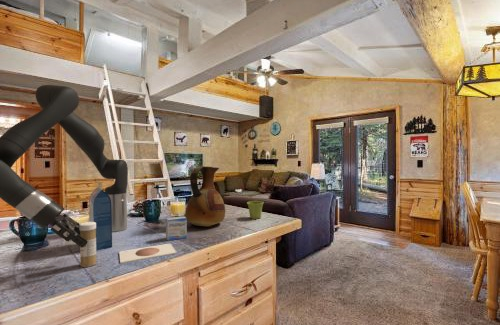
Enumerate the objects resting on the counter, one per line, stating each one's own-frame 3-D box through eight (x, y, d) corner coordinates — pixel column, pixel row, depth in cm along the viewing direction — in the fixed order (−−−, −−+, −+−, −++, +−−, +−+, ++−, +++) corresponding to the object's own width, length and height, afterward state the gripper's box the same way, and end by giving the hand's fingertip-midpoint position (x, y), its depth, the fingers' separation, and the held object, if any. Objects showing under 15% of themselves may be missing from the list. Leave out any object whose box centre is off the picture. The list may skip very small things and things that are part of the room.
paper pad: (119, 252, 95) (119, 251, 95) (170, 244, 103) (170, 243, 103) (120, 263, 85) (120, 261, 85) (176, 253, 93) (176, 251, 93)
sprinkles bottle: (78, 265, 84) (77, 223, 84) (93, 260, 87) (92, 220, 87) (83, 269, 81) (82, 225, 81) (99, 264, 84) (98, 222, 84)
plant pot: (245, 219, 143) (245, 203, 143) (248, 215, 152) (248, 200, 152) (262, 220, 141) (262, 204, 141) (264, 216, 151) (264, 201, 150)
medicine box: (167, 241, 107) (167, 220, 107) (165, 238, 111) (165, 217, 111) (187, 238, 111) (186, 217, 111) (184, 235, 115) (184, 215, 115)
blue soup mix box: (93, 251, 96) (92, 183, 96) (89, 242, 106) (88, 181, 105) (112, 247, 100) (111, 182, 100) (107, 239, 110) (106, 180, 109)
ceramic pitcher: (232, 222, 136) (232, 165, 136) (206, 232, 119) (206, 166, 119) (204, 218, 147) (204, 164, 146) (176, 226, 130) (176, 166, 129)
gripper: (46, 202, 73) (95, 237, 79) (55, 196, 86) (96, 226, 91) (22, 224, 71) (74, 258, 76) (35, 214, 83) (79, 243, 89)
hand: (86, 240), depth 84 cm, fingers open, 8 cm apart
